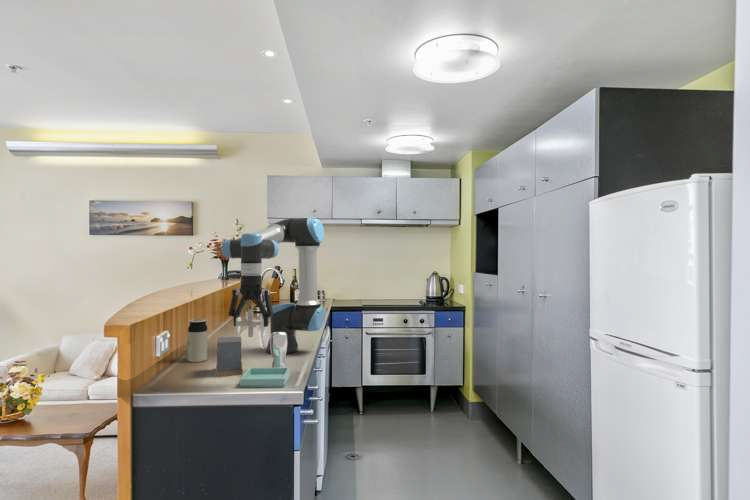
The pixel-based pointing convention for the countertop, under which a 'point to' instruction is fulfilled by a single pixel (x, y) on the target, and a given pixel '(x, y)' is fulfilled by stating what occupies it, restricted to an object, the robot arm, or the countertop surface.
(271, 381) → the tray
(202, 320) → the travel mug
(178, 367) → the countertop surface
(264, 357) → the countertop surface
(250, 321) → the pipe connector
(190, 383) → the countertop surface
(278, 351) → the beer glass
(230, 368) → the mounted unit
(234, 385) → the countertop surface
